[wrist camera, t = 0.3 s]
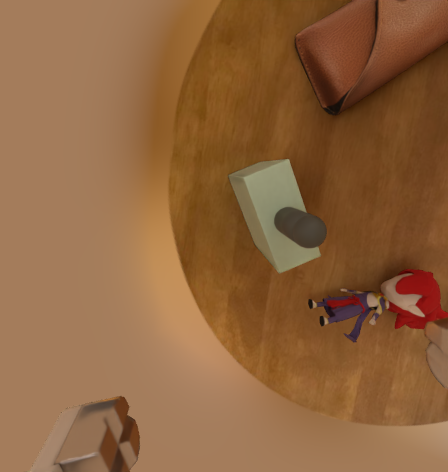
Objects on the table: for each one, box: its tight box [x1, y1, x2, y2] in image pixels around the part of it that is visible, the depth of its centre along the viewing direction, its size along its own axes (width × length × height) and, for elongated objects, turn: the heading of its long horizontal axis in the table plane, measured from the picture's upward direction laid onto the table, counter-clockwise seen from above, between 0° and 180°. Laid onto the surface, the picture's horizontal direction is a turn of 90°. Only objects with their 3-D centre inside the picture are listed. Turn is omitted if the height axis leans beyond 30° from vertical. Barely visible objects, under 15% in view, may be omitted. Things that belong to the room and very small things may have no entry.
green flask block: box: [228, 159, 327, 273], centre depth 25 cm, size 4×8×15 cm, turn 22°
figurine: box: [308, 269, 448, 342], centre depth 33 cm, size 6×8×15 cm
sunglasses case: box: [295, 0, 448, 115], centre depth 28 cm, size 18×7×7 cm
